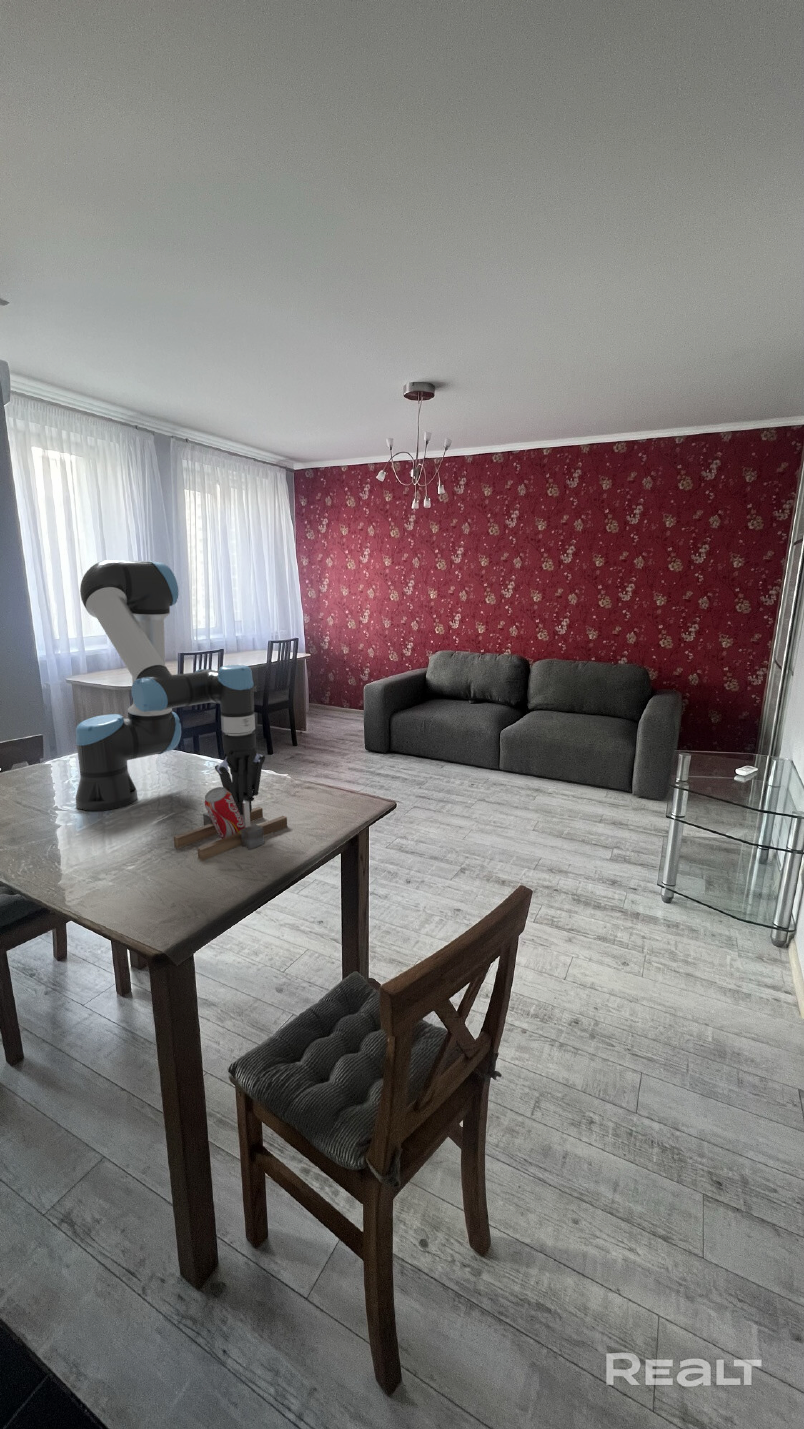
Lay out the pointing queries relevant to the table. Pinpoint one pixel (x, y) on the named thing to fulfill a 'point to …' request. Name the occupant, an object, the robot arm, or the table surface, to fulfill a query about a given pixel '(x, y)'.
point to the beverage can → (223, 812)
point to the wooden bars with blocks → (244, 837)
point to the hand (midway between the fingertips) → (244, 826)
